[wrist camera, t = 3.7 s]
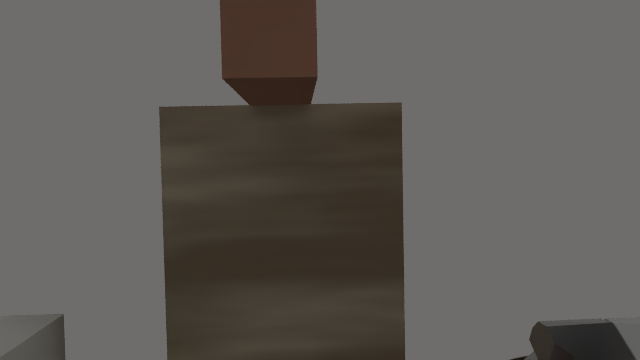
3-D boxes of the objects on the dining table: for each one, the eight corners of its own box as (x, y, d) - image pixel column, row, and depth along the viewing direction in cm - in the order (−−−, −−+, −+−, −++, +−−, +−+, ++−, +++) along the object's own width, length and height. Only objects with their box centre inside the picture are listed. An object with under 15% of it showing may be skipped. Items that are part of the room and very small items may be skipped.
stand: (212, 490, 43) (201, 125, 41) (379, 483, 43) (373, 122, 42) (150, 736, 25) (127, 105, 23) (437, 721, 25) (430, 100, 24)
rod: (269, 123, 41) (268, 86, 40) (305, 123, 41) (305, 86, 41) (222, 78, 16) (219, -19, 16) (317, 76, 16) (315, -20, 16)
